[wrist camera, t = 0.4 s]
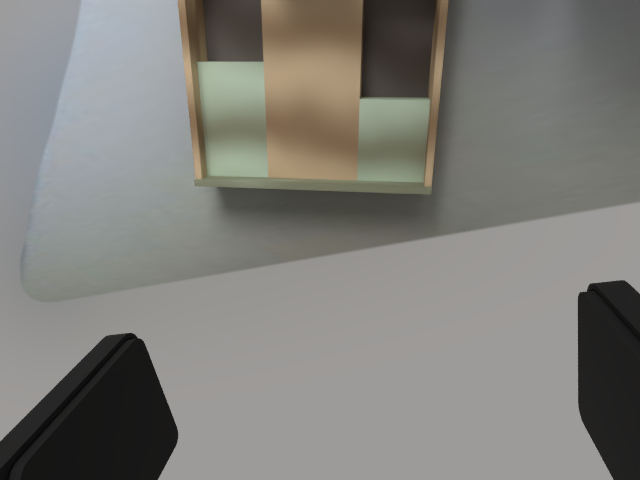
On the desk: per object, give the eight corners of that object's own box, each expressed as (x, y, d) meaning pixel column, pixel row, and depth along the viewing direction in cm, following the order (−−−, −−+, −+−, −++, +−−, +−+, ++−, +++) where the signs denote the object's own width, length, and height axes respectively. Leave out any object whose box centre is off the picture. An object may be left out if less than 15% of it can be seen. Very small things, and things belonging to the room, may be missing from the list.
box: (183, -162, 31) (156, -191, 27) (458, -178, 29) (468, -213, 25) (212, 174, 40) (194, 186, 36) (426, 181, 37) (431, 194, 34)
